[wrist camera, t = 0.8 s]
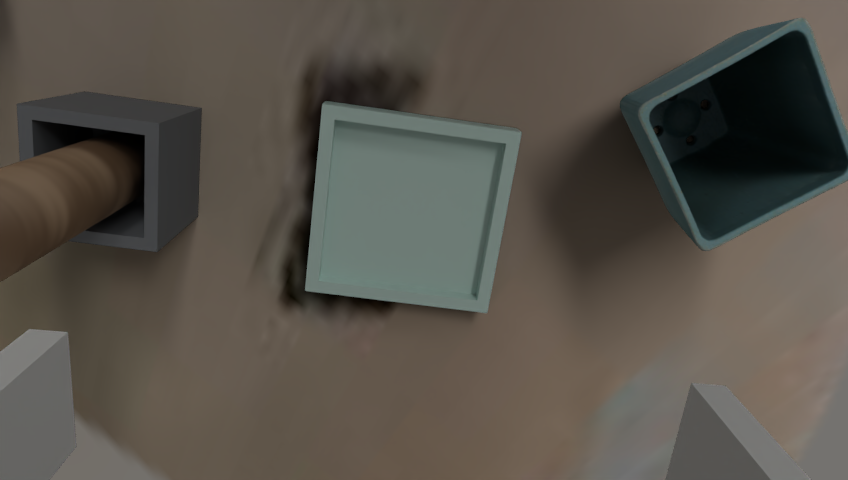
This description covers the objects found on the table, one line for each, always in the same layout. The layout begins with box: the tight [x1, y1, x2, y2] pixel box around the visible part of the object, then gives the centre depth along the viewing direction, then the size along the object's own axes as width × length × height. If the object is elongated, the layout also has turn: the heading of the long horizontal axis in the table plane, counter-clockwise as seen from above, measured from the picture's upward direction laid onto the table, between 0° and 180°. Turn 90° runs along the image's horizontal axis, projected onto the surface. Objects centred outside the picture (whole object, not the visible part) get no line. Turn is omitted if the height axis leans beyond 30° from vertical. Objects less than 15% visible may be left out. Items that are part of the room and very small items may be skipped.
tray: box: [305, 101, 522, 313], centre depth 40 cm, size 12×12×2 cm
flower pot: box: [620, 18, 848, 251], centre depth 35 cm, size 9×9×9 cm
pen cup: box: [17, 92, 202, 252], centre depth 36 cm, size 7×7×7 cm
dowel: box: [0, 131, 145, 282], centre depth 31 cm, size 4×4×16 cm
